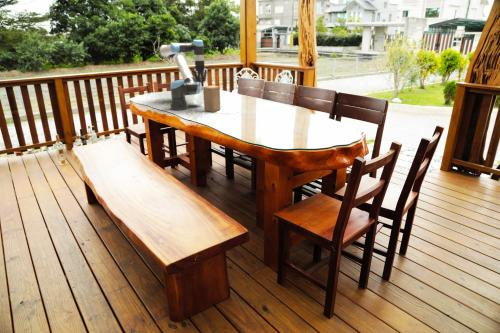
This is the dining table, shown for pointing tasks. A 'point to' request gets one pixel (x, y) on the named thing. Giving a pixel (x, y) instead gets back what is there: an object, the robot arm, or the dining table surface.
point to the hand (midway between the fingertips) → (201, 90)
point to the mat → (228, 111)
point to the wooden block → (211, 98)
